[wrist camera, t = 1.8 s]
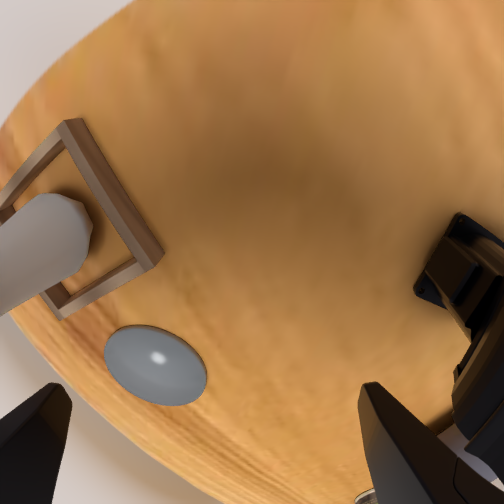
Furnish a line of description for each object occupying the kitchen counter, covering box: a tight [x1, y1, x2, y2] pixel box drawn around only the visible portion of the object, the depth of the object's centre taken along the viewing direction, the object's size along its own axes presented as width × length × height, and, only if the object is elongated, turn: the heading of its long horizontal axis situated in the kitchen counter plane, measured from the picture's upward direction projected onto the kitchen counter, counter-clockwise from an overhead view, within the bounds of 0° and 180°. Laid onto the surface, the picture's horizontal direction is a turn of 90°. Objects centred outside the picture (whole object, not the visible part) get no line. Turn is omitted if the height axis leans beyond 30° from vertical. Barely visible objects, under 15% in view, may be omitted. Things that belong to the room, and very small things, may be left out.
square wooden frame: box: [0, 118, 165, 321], centre depth 19 cm, size 11×11×2 cm
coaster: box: [104, 325, 207, 406], centre depth 25 cm, size 9×9×1 cm
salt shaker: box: [0, 193, 93, 316], centre depth 14 cm, size 6×6×13 cm
